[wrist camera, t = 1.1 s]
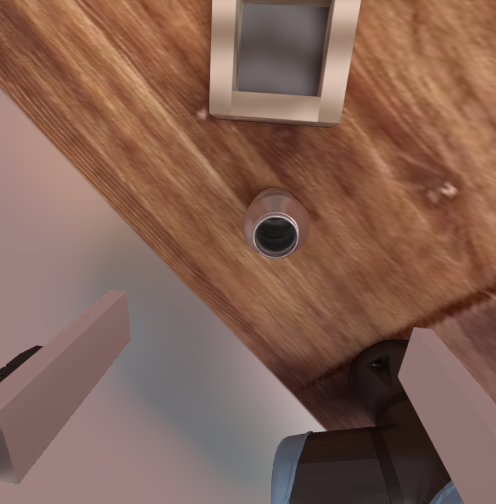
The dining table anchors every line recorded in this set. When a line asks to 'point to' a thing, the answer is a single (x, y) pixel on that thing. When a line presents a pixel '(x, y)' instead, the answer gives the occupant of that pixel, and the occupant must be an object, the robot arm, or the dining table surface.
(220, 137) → the dining table surface
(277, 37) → the bottle holder
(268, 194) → the plastic bottle
